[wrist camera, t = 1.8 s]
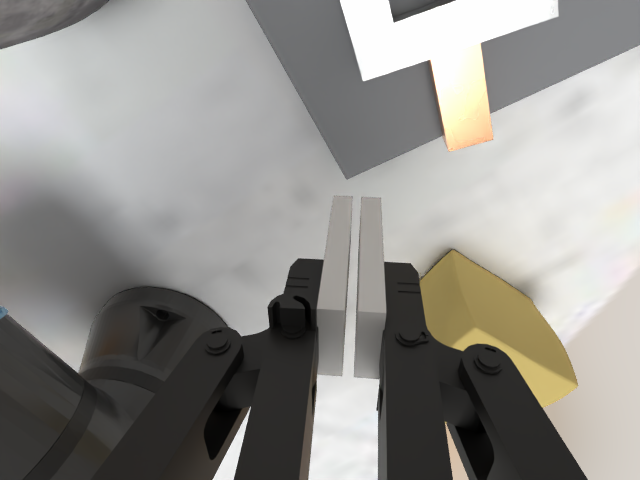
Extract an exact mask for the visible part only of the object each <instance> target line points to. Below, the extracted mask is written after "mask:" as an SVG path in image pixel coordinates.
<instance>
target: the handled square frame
mask: <svg viewBox="0 0 640 480" xmlns="http://www.w3.org/2000/svg"><path fill="white" fill-rule="evenodd" d="M340 1H341V5H342V8H343V12H344V15H345V19H346V22H347V26H348V30H349V33H350V37H351V40H352V44H353V47H354V51H355V55H356V58H357V62H358V65H359V69H360V72H361V76H362V80H363V81H366V80H369V79H372V78H375V77H378V76H381V75H384V74H387V73H390V72H393V71H396V70H399V69H402V68H405V67H408V66H411V65H414V64H417V63H420V62H423V61H426V60H428V64H429V69H430V74H431V79H432V85H433V90H434V95H435V100H436V105H437V110H438V115H439V120H440V125H441V130H442V135H443V139H444V142H445V144H446V146H447V149H448V151H449V152H450V151H453V150H457V149H461V148H464V147H468V146H472V145H475V144H479V143H483V142H486V141H490V140H493V134H492V126H491V119H490V111H489V104H488V96H487V89H486V81H485V74H484V67H483V59H482V52H481V44H480V42H483V41H486V40H489V39H492V38H495V37H498V36H501V35H504V34H507V33H510V32H513V31H516V30H519V29H522V28H525V27H528V26H531V25H534V24H537V23H540V22H543V21H546V20H549V19H552V18H555V17H558V16H559V15H558V0H440V1H437V2H434V3H432V4H429V5H426V6H423V7H421V8H418V9H415V10H413V11H410V12H407V13H404V14H402V15H399V16H396V17H393V18H392V15H391V11H390V6H389V2H388V0H340Z"/></svg>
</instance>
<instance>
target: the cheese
mask: <svg viewBox="0 0 640 480" xmlns="http://www.w3.org/2000/svg"><path fill="white" fill-rule="evenodd" d="M420 288H421V295H422V301H423V307H424V314H425V320H426V326H427V329H428V330H429V331H430V333H431V335H432V336H433V337H434V338H435V339H436V340H437V341H439V342H441V343H442V344H444V345H447V346H449V347H452V348H455V349H458V350H461V351H464V350H465V349H466V348H467V347H468V346H470V345H473V344H477V343H478V344H488V345H491V346H495V347H497V348H499V349H500V350H502V351H503V352H505V353H506V354H507V355H508V356H509V357H510V358H511V359H512V361H513V362H514V364H515V366H516V367H517V369H518V370H519V372H520V373H521V375H522V377H523V378H524V380H525V381H526V383H527V384H528V386H529V388H530V389H531V391H532V392H533V394H534V396H535V397H536V399H537V400H538V402H539V403H540V405H541V407H542V408H543V407H546V406H548V405H550V404H552V403H554V402H556V401H557V400H559V399H561V398H563V397H564V396H566V395H567V394H569V393H570V392H571V391H573V390H574V389H575V388H577V386H578V383H577V379H576V376H575V373H574V370H573V367H572V365H571V362H570V360H569V357H568V355H567V353H566V351H565V348H564V347H563V345H562V343H561V341H560V340H559V338H558V337H557V335H556V334H555V332H554V331H553V329H552V328H551V327H550V325H549V324H548V323H547V321H546V320H545V319H544V317H543V316H542V315H541V313H540V312H539V311H538V309H537V308H536V307H535V305H534V304H533V302H532V300H531V299H530V298H529V297H527V296H526V295H524V294H523V293H521V292H520V291H518V290H517V289H515V288H514V287H512V286H511V285H509V284H508V283H506V282H505V281H503V280H501V279H500V278H498V277H497V276H495V275H493V274H492V273H490V272H489V271H487V270H485V269H484V268H482V267H480V266H479V265H477V264H475V263H474V262H472V261H470V260H469V259H467V258H466V257H464V256H463V255H461V254H460V253H458V252H457V251H455V250H451V251H450V252H449V253H448V254H447V255H446V256H444V257H443V258H442V259H441V260H440V261H439V262H438V263H437V264H436V265H435V266H434V267H433V268H432V269H431V270H430V271H429V272H428V273H427V274H426V275H425V276H424V277H423V278H422V279H421V281H420ZM445 424H447V422H445Z"/></svg>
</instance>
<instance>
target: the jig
mask: <svg viewBox="0 0 640 480" xmlns="http://www.w3.org/2000/svg"><path fill="white" fill-rule="evenodd" d="M437 1H440V0H388V2H389V6H390V11H391V15H392V18H393V17H396V16H399V15H402V14H404V13H407V12H410V11H413V10H415V9H418V8H421V7H423V6H426V5H429V4H432V3H434V2H437ZM246 2H247V3H248V5H249V7H250V9H251V10H252V12H253V14H254V16H255V18H256V19H257V21H258V23H259V25H260V26H261V28H262V30H263V32H264V34H265V35H266V37H267V39H268V41H269V42H270V44H271V46H272V48H273V50H274V51H275V53H276V55H277V57H278V58H279V60H280V62H281V64H282V66H283V67H284V69H285V71H286V73H287V74H288V76H289V78H290V80H291V82H292V83H293V85H294V87H295V89H296V90H297V92H298V94H299V96H300V98H301V99H302V101H303V103H304V105H305V106H306V108H307V110H308V112H309V114H310V115H311V117H312V119H313V121H314V122H315V124H316V126H317V128H318V130H319V131H320V133H321V135H322V137H323V138H324V140H325V142H326V144H327V146H328V147H329V149H330V151H331V153H332V154H333V156H334V158H335V160H336V162H337V163H338V165H339V167H340V169H341V170H342V172H343V174H344V176H345V178H346V179H349V178H351V177H353V176H356V175H358V174H360V173H362V172H364V171H366V170H369V169H371V168H373V167H375V166H377V165H380V164H382V163H384V162H386V161H388V160H390V159H393V158H395V157H397V156H399V155H401V154H404V153H406V152H408V151H410V150H412V149H414V148H417V147H419V146H421V145H423V144H425V143H427V142H430V141H432V140H434V139H436V138H438V137H441V136H443V135H442V130H441V125H440V120H439V115H438V110H437V105H436V100H435V95H434V90H433V85H432V79H431V74H430V69H429V64H428V60H426V61H423V62H420V63H417V64H414V65H411V66H408V67H405V68H402V69H399V70H396V71H393V72H390V73H387V74H384V75H381V76H378V77H375V78H372V79H369V80H366V81H363V80H362V76H361V72H360V69H359V65H358V62H357V58H356V55H355V51H354V47H353V44H352V40H351V37H350V33H349V30H348V26H347V22H346V19H345V15H344V12H343V8H342V5H341V1H340V0H246ZM558 15H559V16H558V17H555V18H552V19H549V20H546V21H543V22H540V23H537V24H534V25H531V26H528V27H525V28H522V29H519V30H516V31H513V32H510V33H507V34H504V35H501V36H498V37H495V38H492V39H489V40H486V41H483V42H480V44H481V52H482V59H483V67H484V74H485V81H486V89H487V96H488V104H489V111H490V114H491V113H493V112H495V111H497V110H499V109H502V108H504V107H506V106H508V105H510V104H512V103H515V102H517V101H519V100H521V99H523V98H525V97H528V96H530V95H532V94H534V93H536V92H539V91H541V90H543V89H545V88H547V87H549V86H552V85H554V84H556V83H558V82H560V81H563V80H565V79H567V78H569V77H571V76H573V75H576V74H578V73H580V72H582V71H584V70H586V69H589V68H591V67H593V66H595V65H597V64H600V63H602V62H604V61H606V60H608V59H610V58H613V57H615V56H617V55H619V54H621V53H624V52H626V51H628V50H630V49H632V48H634V47H637V46H639V45H640V0H558Z"/></svg>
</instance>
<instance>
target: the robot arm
mask: <svg viewBox="0 0 640 480" xmlns="http://www.w3.org/2000/svg"><path fill="white" fill-rule="evenodd" d="M351 219H352V197H350V196H333V203H332V209H331V216H330V223H329V230H328V236H327V243H326V250H325V256H324V260H319V259H301V258H298V259H297V260H296V261H295V262H294V264H293V265H292V266H291V267H290V270H289V274H288V279H287V282H286V287H285V290H284V294H282V295H279V296H277V297H276V298H274V299H273V300H272V301H271V302H270V304H269V306H268V316H269V326H270V327H269V328H268V329H267V330H265V331H262V332H260V333H257V334H253V335H247V336H242V337H241V336H240V334H239V333H238V332H237V331H236V330H233V329H231V328H228V327H227V326H226V325H225V323H224V322H223V321H222V320H221V319H220V317H219V316H218V315H216V314H215V313H214V312H213V311H212V310H211V309H209V308H208V307H207V306H205V305H204V304H202V303H200V302H199V301H197V300H195V299H193V298H191V297H189V296H186V295H184V294H181V293H178V292H175V291H171V290H167V289H161V288H151V287H143V288H134V289H130V290H126V291H123V292H121V293H119V294H117V295H115V296H114V297H112V298H111V299H110V300H109V301H108V302H107V303H106V304H105V306H104V307H103V308H102V310H101V311H100V312H99V314H98V315H97V316H96V318H95V320H94V322H93V324H92V326H91V330H90V334H89V337H88V341H87V344H86V348H85V352H84V355H83V359H82V363H81V366H80V370H79V373H77V372H76V371H75V370H73V369H72V368H71V367H70V366H69V365H67V364H66V363H65V362H64V361H63V360H61V359H60V358H59V357H58V356H57V355H55V354H54V353H53V352H52V351H51V350H49V349H48V348H47V347H46V346H45V345H43V344H42V343H41V342H40V341H39V340H38V339H36V338H35V337H34V336H33V335H32V334H30V333H29V332H28V331H27V330H26V329H24V328H23V327H22V326H21V325H20V324H18V323H17V322H16V321H15V320H14V319H12V318H11V317H10V316H9V315H8V314H7V313H8V310H7V309H6V308H5V307H3V306H0V480H212V479H213V478H214V476H215V474H216V472H217V470H218V468H219V466H220V464H221V462H222V460H223V458H224V456H225V455H226V453H227V451H228V449H229V447H230V445H231V443H232V441H233V439H234V437H235V435H236V433H237V432H238V430H239V428H240V426H241V424H242V422H243V420H244V418H245V416H246V414H247V412H248V410H249V408H250V406H251V410H250V414H249V418H248V422H247V426H246V431H245V435H244V439H243V443H242V447H241V452H240V456H239V460H238V464H237V469H236V473H235V477H234V480H308V475H309V465H310V454H311V444H312V433H313V423H314V412H315V402H316V391H317V374H318V375H332V376H342V371H343V355H344V339H345V324H346V308H347V292H348V277H349V261H350V242H351ZM354 377H358V378H371V379H379V378H380V384H379V393H378V401H377V410H376V411H378V480H453V477H452V470H451V463H450V456H449V449H448V443H447V434H446V427H445V422H447V426H448V429H449V431H450V434H451V436H452V439H453V441H454V444H455V446H456V448H457V451H458V453H459V456H460V458H461V461H462V463H463V466H464V468H465V471H466V473H467V476H468V478H469V480H588V479H587V478H586V476H585V475H584V473H583V471H582V470H581V468H580V467H579V465H578V463H577V462H576V460H575V459H574V457H573V456H572V454H571V452H570V451H569V449H568V448H567V446H566V445H565V443H564V442H563V440H562V438H561V437H560V435H559V434H558V432H557V430H556V429H555V427H554V426H553V424H552V423H551V421H550V419H549V418H548V416H547V415H546V413H545V411H544V410H543V408H542V407H541V405H540V403H539V402H538V400H537V399H536V397H535V396H534V394H533V392H532V391H531V389H530V388H529V386H528V384H527V383H526V381H525V380H524V378H523V377H522V375H521V373H520V372H519V370H518V369H517V367H516V366H515V364H514V362H513V361H512V359H511V358H510V357H509V356H508V355H507V354H506V353H505V352H503V351H502V350H500V349H499V348H497V347H495V346H491V345H488V344H478V343H477V344H473V345H470V346H468V347H467V348H466V349H465V350H464V351H461V350H458V349H455V348H452V347H449V346H447V345H444V344H442V343H441V342H439V341H437V340H436V339H435V338H434V337H433V336H432V335H431V333H430V331H429V330H428V329H427V326H426V320H425V314H424V307H423V301H422V295H421V288H420V282H419V275H418V272H417V271H416V270H415V268H414V267H413V266H412V265H411V263H393V262H384V254H383V234H382V213H381V198H374V197H362V198H361V216H360V233H359V251H358V278H357V306H356V334H355V362H354Z"/></svg>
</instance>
